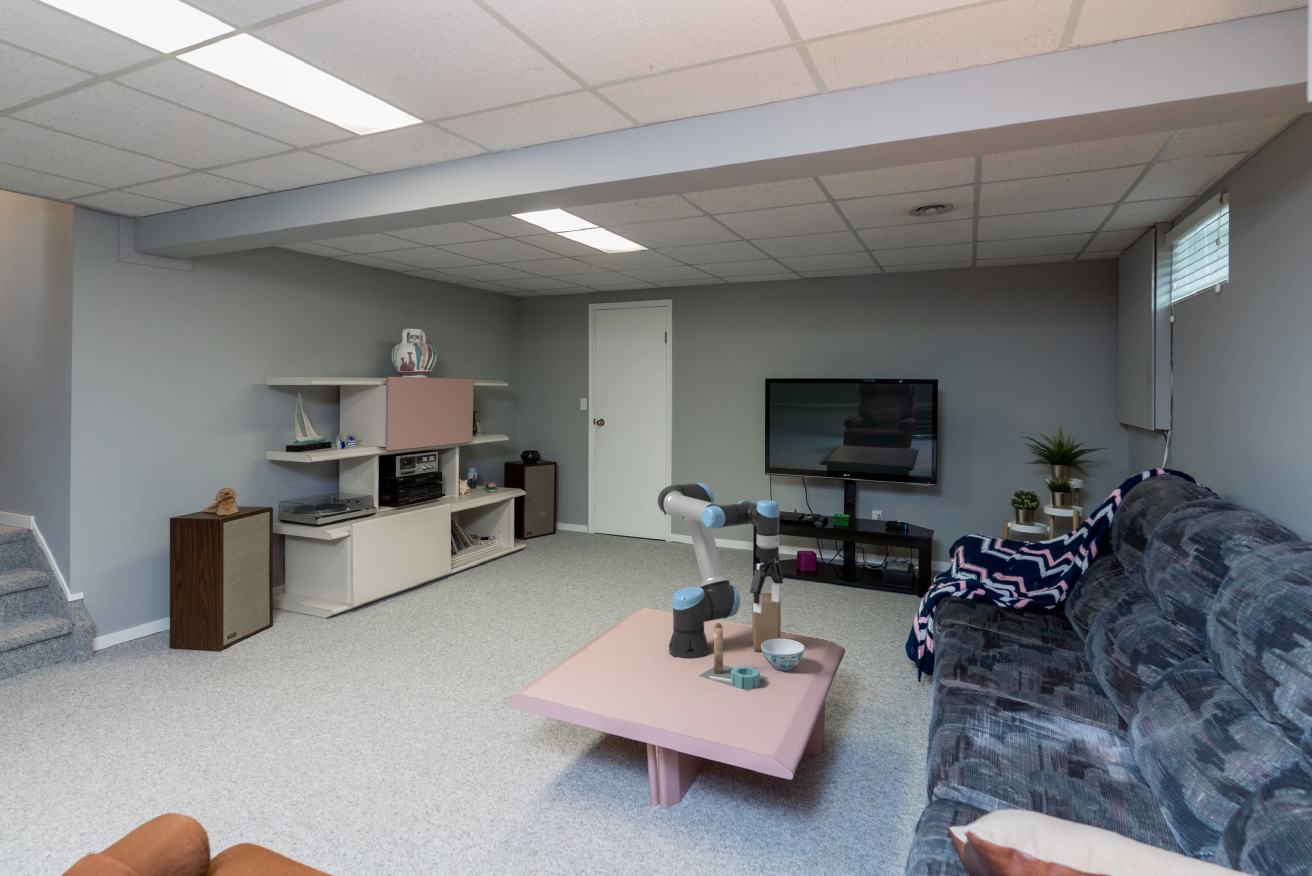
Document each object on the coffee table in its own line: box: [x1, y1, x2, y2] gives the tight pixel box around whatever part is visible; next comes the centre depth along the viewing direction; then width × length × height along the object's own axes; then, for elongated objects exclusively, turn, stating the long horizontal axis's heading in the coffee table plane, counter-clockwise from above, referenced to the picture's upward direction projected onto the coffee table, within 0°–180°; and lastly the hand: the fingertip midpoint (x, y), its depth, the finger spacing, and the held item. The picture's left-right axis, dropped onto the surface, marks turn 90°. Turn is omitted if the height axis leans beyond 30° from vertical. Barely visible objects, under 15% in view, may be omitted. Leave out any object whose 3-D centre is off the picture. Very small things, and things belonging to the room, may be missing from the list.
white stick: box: [709, 676, 731, 682], centre depth 230 cm, size 8×1×1 cm, turn 66°
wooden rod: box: [713, 622, 724, 674], centre depth 236 cm, size 3×3×17 cm
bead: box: [731, 665, 761, 690], centre depth 227 cm, size 9×9×4 cm
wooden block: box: [751, 592, 782, 653], centre depth 259 cm, size 10×10×20 cm
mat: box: [698, 664, 769, 692], centre depth 233 cm, size 20×13×1 cm, turn 51°
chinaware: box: [761, 638, 805, 671], centre depth 241 cm, size 15×15×8 cm
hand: (766, 606), depth 236 cm, fingers open, 13 cm apart
